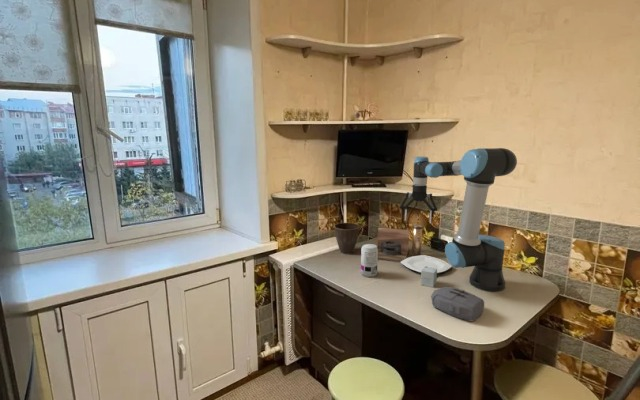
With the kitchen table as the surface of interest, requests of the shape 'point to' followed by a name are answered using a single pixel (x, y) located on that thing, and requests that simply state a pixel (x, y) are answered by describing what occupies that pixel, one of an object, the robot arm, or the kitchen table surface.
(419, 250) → the clear glass cylinder
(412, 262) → the plate
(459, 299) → the soft grey pack
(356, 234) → the plant pot
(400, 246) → the transparent box
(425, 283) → the skincare box
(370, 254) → the supplement can
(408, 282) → the kitchen table surface
